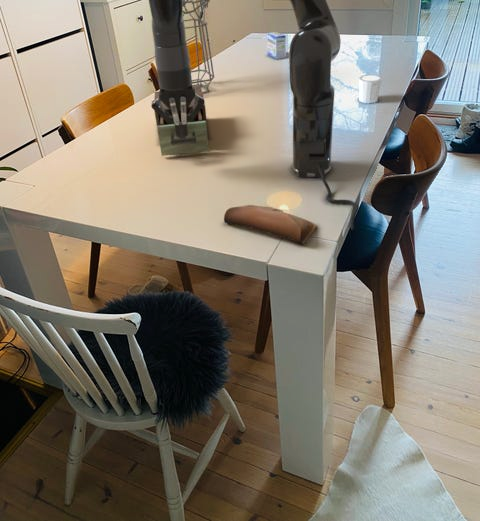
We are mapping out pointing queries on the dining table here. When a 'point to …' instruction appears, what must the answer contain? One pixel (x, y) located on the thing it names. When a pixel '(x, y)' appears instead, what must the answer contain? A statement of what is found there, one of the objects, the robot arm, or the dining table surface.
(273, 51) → the medicine box
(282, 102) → the dining table surface
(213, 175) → the dining table surface
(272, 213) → the sunglasses case
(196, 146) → the drawer
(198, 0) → the geometric lantern
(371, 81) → the white short cylinder
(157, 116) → the cabinet
